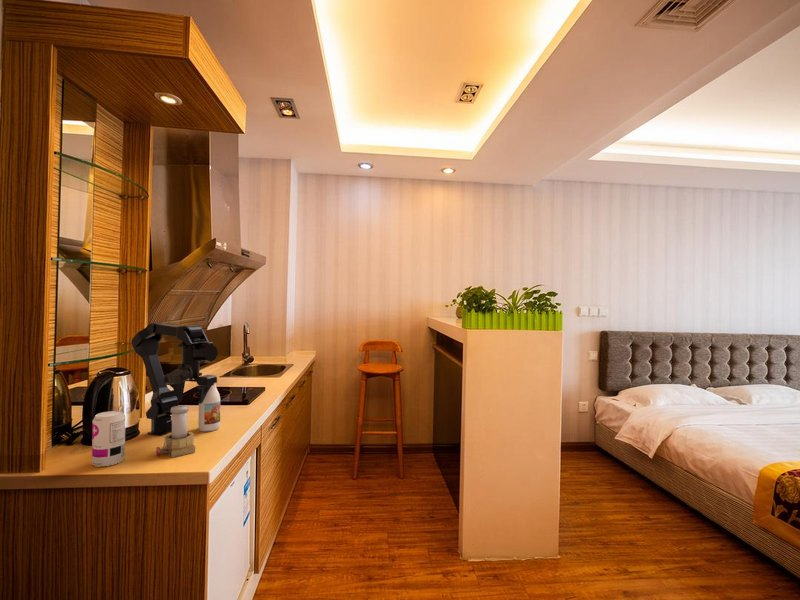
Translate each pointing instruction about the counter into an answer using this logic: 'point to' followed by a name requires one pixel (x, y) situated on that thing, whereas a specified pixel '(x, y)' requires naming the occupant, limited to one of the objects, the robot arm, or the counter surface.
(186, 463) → the counter surface
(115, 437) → the supplement can
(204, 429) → the milk bottle
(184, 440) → the valve body
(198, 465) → the counter surface
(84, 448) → the counter surface
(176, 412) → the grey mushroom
